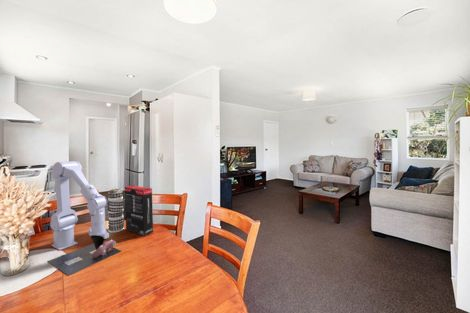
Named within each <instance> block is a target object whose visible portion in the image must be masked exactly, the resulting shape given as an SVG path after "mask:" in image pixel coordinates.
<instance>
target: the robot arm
mask: <svg viewBox="0 0 470 313" xmlns="http://www.w3.org/2000/svg"><path fill="white" fill-rule="evenodd" d="M52 178H53V179H54V181H55V182H54V185H55V195H56V208H57V210H56V211H55V213H53V214H52V215H51V218H50V223H49V225H50V228H51V230H52V231H53V232H52V233H53V244H51V246H52V247H53V248H55V249H56V250H58V251H61V250H64V249H67V248H69V247H73V246H76V245H78V243H79V242H77V241H75V231H74V228H75V227H76V224H77V222H78V221H79V219H78V215H77V213H76V210H74V209H72V208H71V198H70V185H69V184H70V183H69V179H70V178H72V179H73V180H74V182H75V183H76V184H77V185H78V186H79V187H80V193H81V195H82V196H83V198H84V199H85V201H86V202H87V204H86V207H87V210H88V212H89V214H90V227H89V228H88V236H90V237H89V238H90V239H91V240H92V242H93V244H94V245H95V248H96V250H97V249H98V248H99V247H100V246H101V245H102V244H103V243H105V239H108V238H110V232H109V231H108V230H107V229H106V210H105V209H106V207H107V206H108V205H107V203H108V202H107V200H108V198H107V197H106V196H105V195H102V194H100V193H99V192H98V190H97V189H96V187H95V186H94V185H93V184H90V183H89V182H88V180H87V179H86V177H85V174H84V173H83V165H81V163H80V161H78V160H73V161H72V160H71V161H70V160H69V161H56V162H55V163H54V164H53V165H52Z"/></svg>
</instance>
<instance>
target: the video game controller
mask: <svg viewBox="0 0 470 313" xmlns="http://www.w3.org/2000/svg"><path fill="white" fill-rule="evenodd" d="M116 244H117V241H115V240H114V239H110V240H107V241H104V242H103V244H102V245H101V246H100V247H99V248H98V249H97V250H96V251H95V252H93V254H92V257H93V258H95V257H98V256H99V255H102V256H103V255H104V254H105V253H106V251H107V252H109V251H110V250H111V249H112V247H115V246H116Z"/></svg>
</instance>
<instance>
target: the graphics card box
mask: <svg viewBox="0 0 470 313" xmlns="http://www.w3.org/2000/svg"><path fill="white" fill-rule="evenodd" d="M124 208H125V209H124V210H125V230H126V231H127V232H128V231H129V232H131V233H134V234H137V235H140V236H143V237H145V236H147V235H150V234H151V233H153V232H154V222H153V220H154V217H153V188H152V187H145V186H137V185H133V184H132V185H126V186H124Z"/></svg>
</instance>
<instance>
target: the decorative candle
mask: <svg viewBox="0 0 470 313" xmlns="http://www.w3.org/2000/svg"><path fill="white" fill-rule="evenodd" d="M107 195H108V196H107V202H108V203H107V206H106V207H107V213H108V219H107V221H108V226H107V227H108V233H110V234H111V233H112V234H113V233H118V232H119V233H120V232H121V231H124V230H125V216H124V210H125V209H124V208H125V197H123V190H122V189H121V188H112V189H110V190H109V191H108V192H107ZM123 229H124V230H123Z"/></svg>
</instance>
